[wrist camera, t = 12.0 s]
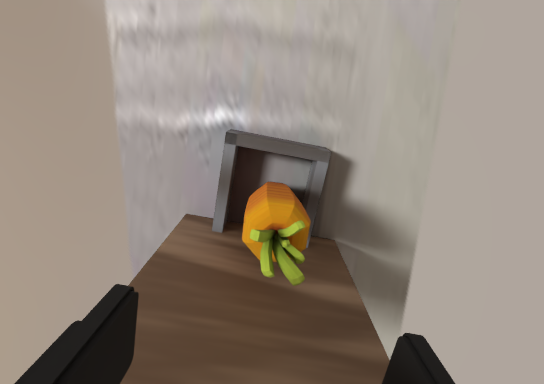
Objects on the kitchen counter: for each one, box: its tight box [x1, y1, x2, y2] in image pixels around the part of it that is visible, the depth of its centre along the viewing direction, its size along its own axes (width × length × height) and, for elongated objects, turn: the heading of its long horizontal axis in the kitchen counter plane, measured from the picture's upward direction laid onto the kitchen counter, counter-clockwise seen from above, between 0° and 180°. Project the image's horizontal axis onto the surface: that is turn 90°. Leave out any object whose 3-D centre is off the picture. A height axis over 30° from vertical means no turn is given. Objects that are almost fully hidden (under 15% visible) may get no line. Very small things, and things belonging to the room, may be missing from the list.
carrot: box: [242, 182, 311, 286], centre depth 23 cm, size 5×5×15 cm
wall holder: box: [120, 129, 390, 384], centre depth 21 cm, size 11×16×20 cm
